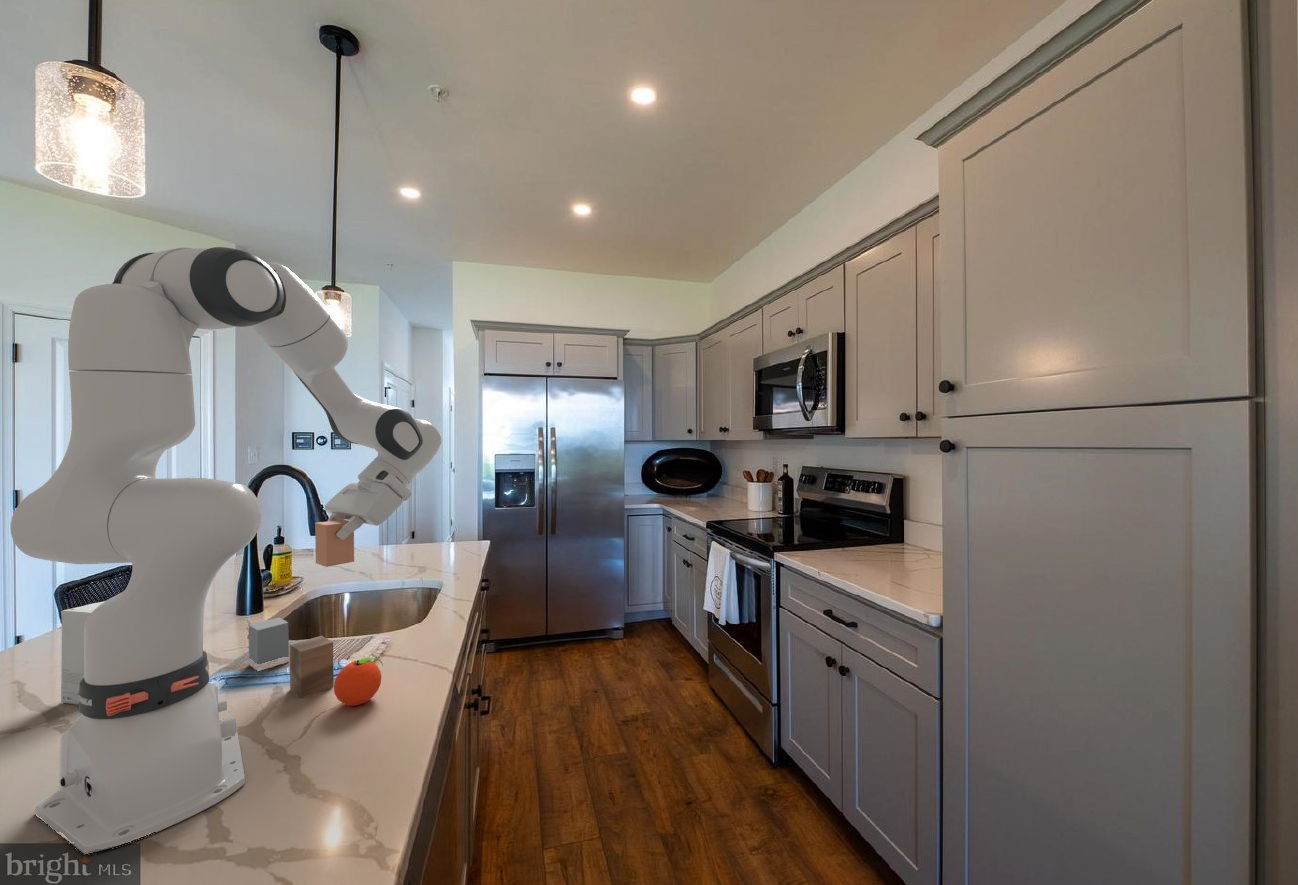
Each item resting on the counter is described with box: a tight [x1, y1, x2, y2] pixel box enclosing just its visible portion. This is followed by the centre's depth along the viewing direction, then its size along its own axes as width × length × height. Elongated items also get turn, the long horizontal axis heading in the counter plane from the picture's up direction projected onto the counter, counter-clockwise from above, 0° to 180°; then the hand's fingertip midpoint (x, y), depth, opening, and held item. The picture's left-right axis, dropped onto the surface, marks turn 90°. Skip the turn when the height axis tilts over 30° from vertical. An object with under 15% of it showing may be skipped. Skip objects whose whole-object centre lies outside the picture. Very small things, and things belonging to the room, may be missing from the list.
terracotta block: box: [314, 519, 355, 568], centre depth 99 cm, size 5×5×8 cm
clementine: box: [333, 657, 384, 707], centre depth 84 cm, size 8×7×7 cm
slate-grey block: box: [248, 617, 290, 664], centre depth 98 cm, size 5×5×8 cm
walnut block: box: [289, 635, 335, 699], centre depth 88 cm, size 5×5×8 cm
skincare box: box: [60, 600, 106, 706], centre depth 87 cm, size 8×7×16 cm
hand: (331, 535), depth 98 cm, fingers closed on terracotta block, 5 cm apart
